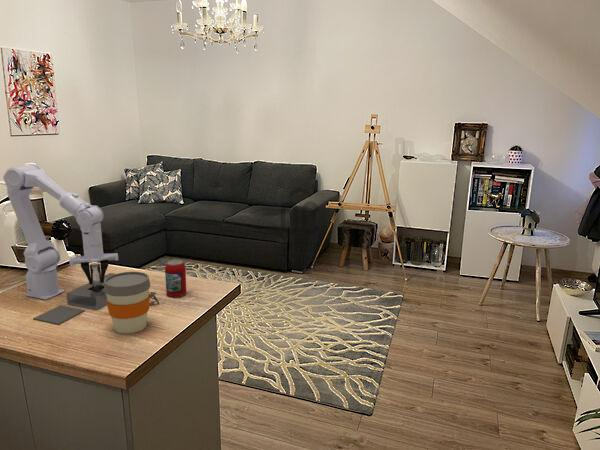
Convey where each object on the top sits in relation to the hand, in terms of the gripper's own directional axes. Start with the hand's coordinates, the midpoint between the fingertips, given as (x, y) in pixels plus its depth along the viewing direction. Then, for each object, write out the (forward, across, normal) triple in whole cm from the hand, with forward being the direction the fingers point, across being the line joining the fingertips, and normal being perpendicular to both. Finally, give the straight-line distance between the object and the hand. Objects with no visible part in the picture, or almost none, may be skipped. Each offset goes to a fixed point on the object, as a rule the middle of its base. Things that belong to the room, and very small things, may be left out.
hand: (96, 282), depth 148 cm
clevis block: (+6, +2, +2) cm, 7 cm away
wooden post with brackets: (+6, +14, -11) cm, 19 cm away
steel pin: (+3, 0, 0) cm, 3 cm away
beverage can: (+6, +25, -6) cm, 26 cm away
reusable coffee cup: (+6, +8, -25) cm, 27 cm away
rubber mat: (+6, -11, -8) cm, 15 cm away
